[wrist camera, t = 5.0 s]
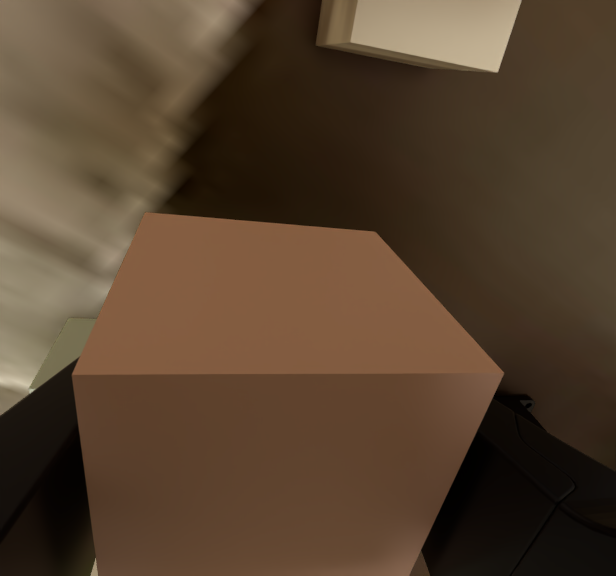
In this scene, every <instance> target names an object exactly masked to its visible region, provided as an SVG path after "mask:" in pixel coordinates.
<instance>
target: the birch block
mask: <svg viewBox="0 0 616 576" xmlns="http://www.w3.org/2000/svg"><path fill="white" fill-rule="evenodd" d="M520 3H521V0H322V5H321V12H320V18H319V25H318V32H317V39H316V46H320V47H325V48H330V49H335V50H340V51H345V52H350V53H355V54H360V55H365V56H370V57H375V58H380V59H385V60H390V61H395V62H400V63H405V64H410V65H415V66H420V67H425V68H431V69H448V70H464V71H481V72H498V70H499V67H500V64H501V61H502V58H503V55H504V52H505V49H506V46H507V43H508V40H509V37H510V34H511V31H512V28H513V25H514V22H515V19H516V16H517V13H518V9H519V6H520Z"/></svg>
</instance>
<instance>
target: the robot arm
mask: <svg viewBox="0 0 616 576" xmlns="http://www.w3.org/2000/svg"><path fill="white" fill-rule="evenodd" d="M79 358H80V356H79V357H78V358H77V359H75V360H74V361H73V362H71V363H70V364H69V365H67V366H66V367H65V368H63V369H62V370H61V371H59V372H58V373H57V374H55V375H54V376H53V377H51V378H50V379H49V380H47V381H46V382H45V383H43V384H42V385H41V386H39V387H38V388H37V389H35V390H34V391H33V392H31V393H30V394H29V395H27V396H26V397H25V398H23V399H22V400H21V401H19V402H18V403H17V404H15V405H14V406H13V407H11V408H10V409H9V410H7V411H6V412H5V413H3V414H2V415H1V416H0V576H90V575H91V572H92V568H93V565H94V562H95V558H96V555H95V547H94V540H93V532H92V524H91V517H90V509H89V502H88V494H87V487H86V479H85V471H84V464H83V456H82V449H81V441H80V434H79V426H78V418H77V411H76V403H75V396H74V388H73V381H72V373H73V371H74V369H75V366H76V364H77V362H78V360H79ZM534 405H535V401H534V400H533V399H532V398H531V397H530V396H505V397H493V398H492V400H491V402H490V404H489V407H488V409H487V411H486V413H485V415H484V417H483V419H482V421H481V424H480V426H479V428H478V430H477V432H476V434H475V436H474V438H473V441H472V443H471V445H470V447H469V449H468V451H467V453H466V455H465V458H464V460H463V462H462V464H461V466H460V468H459V470H458V472H457V475H456V477H455V479H454V481H453V483H452V485H451V487H450V489H449V491H448V494H447V496H446V498H445V500H444V502H443V504H442V506H441V508H440V511H439V513H438V515H437V517H436V519H435V521H434V523H433V525H432V528H431V530H430V532H429V534H428V536H427V538H426V540H425V542H424V545H423V547H422V549H421V551H422V554H423V557H424V559H425V562H426V565H427V568H428V570H429V573H430V576H616V471H614V470H613V469H611V468H609V467H607V466H605V465H603V464H602V463H600V462H598V461H596V460H594V459H593V458H591V457H589V456H587V455H585V454H584V453H582V452H580V451H578V450H577V449H575V448H573V447H571V446H570V445H568V444H566V443H564V442H563V441H561V440H559V439H557V438H556V437H554V436H552V435H551V434H549V433H548V432H547V431H546V430H545V429H544V428H543V427H542V426H541V425H540V423H539V422H538V421H537V420H536V419H535V418H534V417H533V415H532V414H531V411H532V409H533V407H534Z"/></svg>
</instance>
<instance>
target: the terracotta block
mask: <svg viewBox="0 0 616 576" xmlns="http://www.w3.org/2000/svg"><path fill="white" fill-rule="evenodd" d="M503 375H504V372H503V371H502V370H501V369H500V368H499V367H498V366H497V365H496V363H495V362H494V361H493V360H492V359H491V358H490V357H489V356H488V355H487V354H486V353H485V351H484V350H483V349H482V348H481V347H480V346H479V345H478V344H477V343H476V342H475V340H474V339H473V338H472V337H471V336H470V335H469V334H468V333H467V332H466V331H465V329H464V328H463V327H462V326H461V325H460V324H459V323H458V322H457V321H456V320H455V319H454V317H453V316H452V315H451V314H450V313H449V312H448V311H447V310H446V309H445V308H444V306H443V305H442V304H441V303H440V302H439V301H438V300H437V299H436V298H435V297H434V295H433V294H432V293H431V292H430V291H429V290H428V289H427V288H426V287H425V286H424V285H423V283H422V282H421V281H420V280H419V279H418V278H417V277H416V276H415V275H414V274H413V272H412V271H411V270H410V269H409V268H408V267H407V266H406V265H405V264H404V263H403V262H402V260H401V259H400V258H399V257H398V256H397V255H396V254H395V253H394V252H393V251H392V249H391V248H390V247H389V246H388V245H387V244H386V243H385V242H384V241H383V240H382V238H381V237H380V236H379V235H378V234H377V233H376V232H372V231H361V230H349V229H337V228H325V227H314V226H302V225H290V224H278V223H266V222H255V221H243V220H231V219H219V218H207V217H196V216H184V215H172V214H160V213H148V212H145V214H144V216H143V218H142V220H141V223H140V225H139V227H138V229H137V231H136V234H135V236H134V238H133V240H132V242H131V245H130V247H129V249H128V251H127V254H126V256H125V258H124V260H123V262H122V265H121V267H120V269H119V271H118V273H117V276H116V278H115V280H114V282H113V285H112V287H111V289H110V291H109V293H108V296H107V298H106V300H105V302H104V304H103V307H102V309H101V311H100V313H99V316H98V318H97V320H96V322H95V324H94V327H93V329H92V331H91V333H90V335H89V338H88V340H87V342H86V344H85V347H84V349H83V351H82V353H81V355H80V358H79V360H78V362H77V364H76V366H75V369H74V371H73V373H72V381H73V388H74V396H75V403H76V411H77V418H78V426H79V434H80V441H81V449H82V456H83V464H84V471H85V479H86V487H87V494H88V502H89V509H90V517H91V524H92V532H93V540H94V547H95V555H96V561H97V570H98V576H409V574H410V572H411V570H412V568H413V566H414V564H415V561H416V559H417V557H418V555H419V553H420V551H421V549H422V547H423V545H424V542H425V540H426V538H427V536H428V534H429V532H430V530H431V528H432V525H433V523H434V521H435V519H436V517H437V515H438V513H439V511H440V508H441V506H442V504H443V502H444V500H445V498H446V496H447V494H448V491H449V489H450V487H451V485H452V483H453V481H454V479H455V477H456V475H457V472H458V470H459V468H460V466H461V464H462V462H463V460H464V458H465V455H466V453H467V451H468V449H469V447H470V445H471V443H472V441H473V438H474V436H475V434H476V432H477V430H478V428H479V426H480V424H481V421H482V419H483V417H484V415H485V413H486V411H487V409H488V407H489V404H490V402H491V400H492V398H493V396H494V394H495V392H496V390H497V388H498V385H499V383H500V381H501V379H502V377H503Z"/></svg>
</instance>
